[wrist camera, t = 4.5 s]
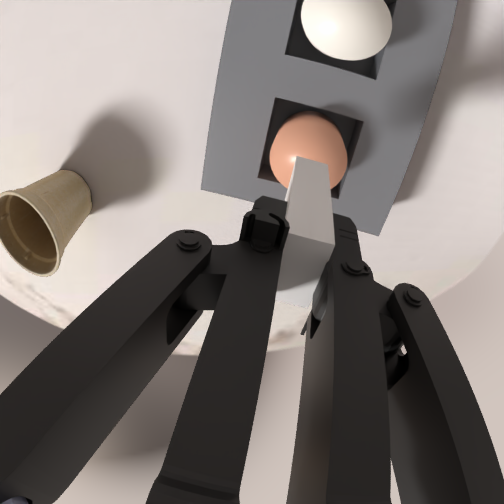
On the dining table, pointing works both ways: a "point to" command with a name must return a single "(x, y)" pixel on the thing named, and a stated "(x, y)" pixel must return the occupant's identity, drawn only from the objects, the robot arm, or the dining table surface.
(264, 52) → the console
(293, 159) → the terracotta key
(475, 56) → the dining table surface
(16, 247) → the flower pot
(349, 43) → the ivory key
